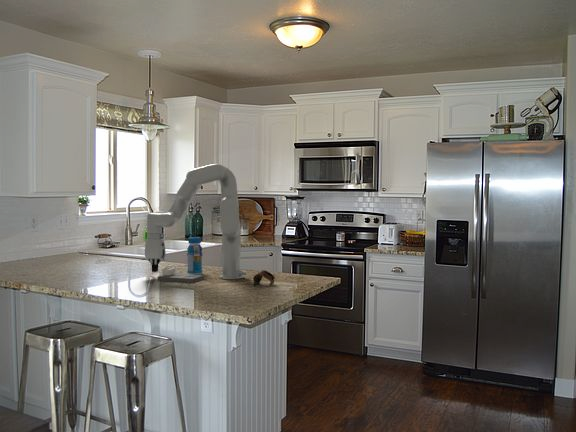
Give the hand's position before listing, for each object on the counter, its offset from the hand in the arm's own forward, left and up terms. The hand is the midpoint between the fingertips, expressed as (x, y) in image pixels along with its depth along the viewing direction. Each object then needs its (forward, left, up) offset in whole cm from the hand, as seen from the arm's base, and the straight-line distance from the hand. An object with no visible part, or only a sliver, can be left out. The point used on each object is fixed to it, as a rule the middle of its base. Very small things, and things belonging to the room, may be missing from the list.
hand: (154, 271), depth 271 cm
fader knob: (-8, 0, -1) cm, 8 cm away
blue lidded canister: (-13, -19, -4) cm, 23 cm away
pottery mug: (-60, +1, -4) cm, 60 cm away
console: (-15, 0, -3) cm, 16 cm away
